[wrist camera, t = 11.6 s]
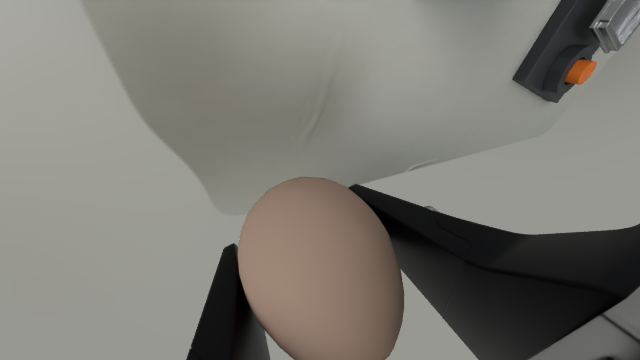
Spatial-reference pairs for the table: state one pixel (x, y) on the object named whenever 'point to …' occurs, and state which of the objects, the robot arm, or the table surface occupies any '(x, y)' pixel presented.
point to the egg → (321, 272)
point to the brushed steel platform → (616, 23)
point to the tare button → (580, 71)
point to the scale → (560, 48)
